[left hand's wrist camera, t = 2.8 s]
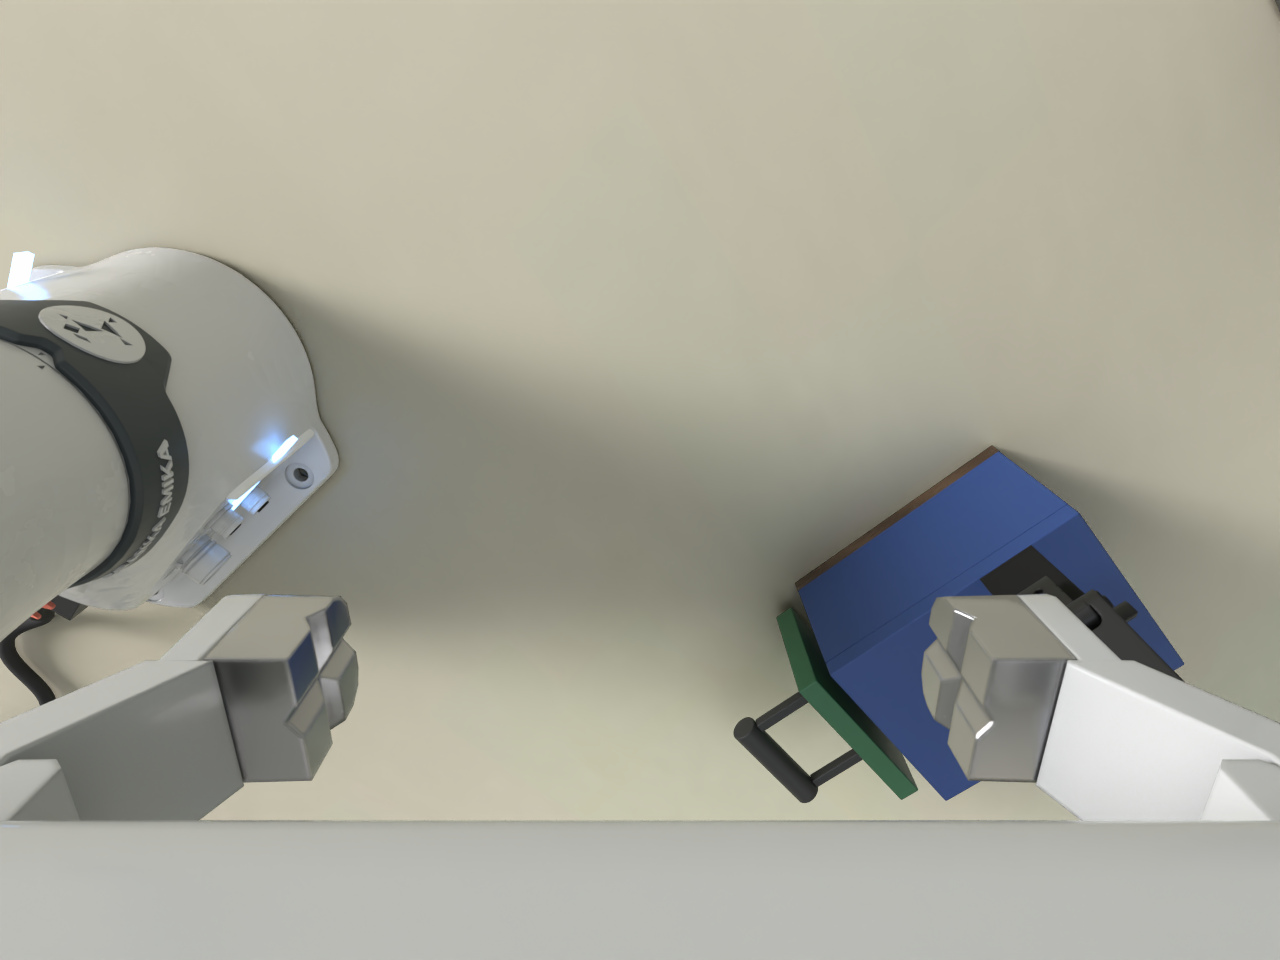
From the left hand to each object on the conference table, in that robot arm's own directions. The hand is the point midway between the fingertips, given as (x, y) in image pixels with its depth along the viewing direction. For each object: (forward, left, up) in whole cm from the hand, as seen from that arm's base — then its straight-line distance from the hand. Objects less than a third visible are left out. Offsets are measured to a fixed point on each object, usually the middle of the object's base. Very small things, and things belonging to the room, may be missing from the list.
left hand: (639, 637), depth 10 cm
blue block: (-3, -26, -33) cm, 42 cm away
